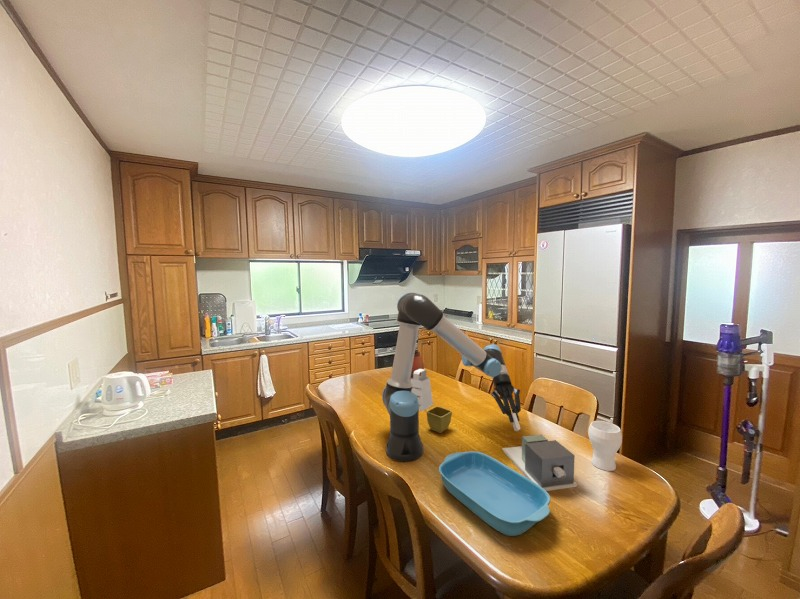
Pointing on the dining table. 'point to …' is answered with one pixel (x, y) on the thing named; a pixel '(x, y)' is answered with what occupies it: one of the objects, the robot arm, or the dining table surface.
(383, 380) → the dining table surface
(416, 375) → the grater
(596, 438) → the cup
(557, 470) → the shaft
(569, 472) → the bearing block
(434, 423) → the flower pot
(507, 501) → the casserole dish
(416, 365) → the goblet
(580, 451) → the dining table surface
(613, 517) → the dining table surface
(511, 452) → the base board
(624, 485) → the dining table surface
